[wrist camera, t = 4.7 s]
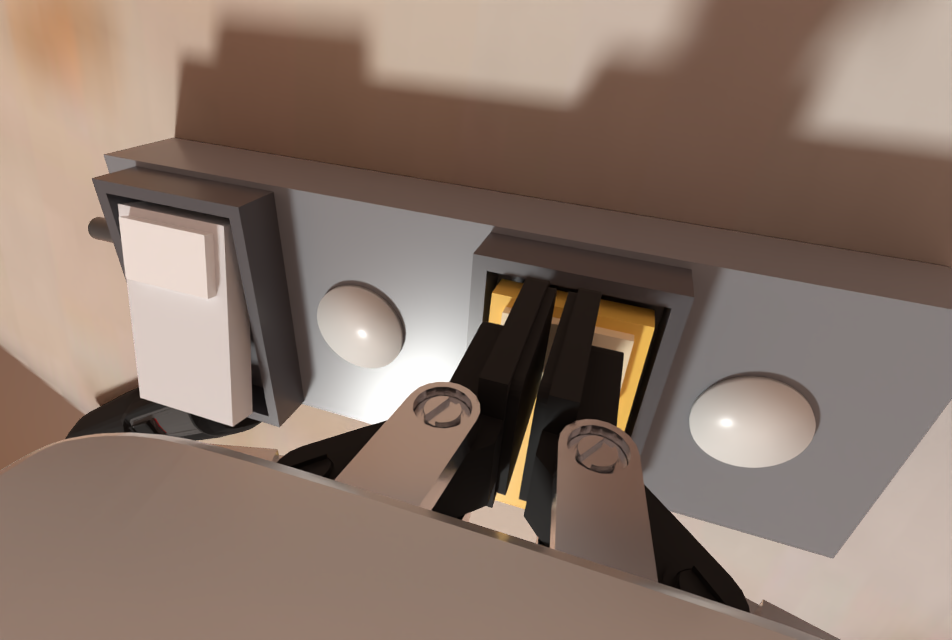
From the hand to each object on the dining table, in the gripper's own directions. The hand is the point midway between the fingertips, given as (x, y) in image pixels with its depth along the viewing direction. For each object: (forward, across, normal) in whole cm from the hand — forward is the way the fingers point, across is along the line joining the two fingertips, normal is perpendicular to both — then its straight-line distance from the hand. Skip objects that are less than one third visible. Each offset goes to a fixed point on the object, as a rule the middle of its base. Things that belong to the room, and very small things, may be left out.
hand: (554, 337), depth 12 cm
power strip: (+6, +6, +3) cm, 9 cm away
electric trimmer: (+6, +20, +14) cm, 26 cm away
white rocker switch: (+1, +12, +3) cm, 13 cm away
